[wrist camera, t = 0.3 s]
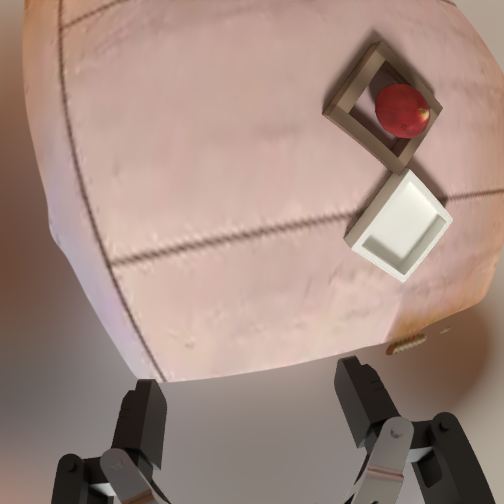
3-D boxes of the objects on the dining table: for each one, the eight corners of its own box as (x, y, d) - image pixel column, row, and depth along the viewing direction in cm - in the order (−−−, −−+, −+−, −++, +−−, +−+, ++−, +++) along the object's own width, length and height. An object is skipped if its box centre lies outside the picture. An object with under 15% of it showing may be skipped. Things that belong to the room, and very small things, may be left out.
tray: (399, 163, 29) (409, 169, 27) (443, 212, 33) (453, 219, 31) (343, 239, 34) (350, 248, 32) (395, 273, 38) (403, 283, 36)
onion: (410, 121, 26) (454, 134, 20) (374, 139, 27) (415, 156, 21) (393, 77, 23) (438, 78, 17) (354, 93, 25) (394, 96, 18)
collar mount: (372, 43, 21) (381, 41, 20) (432, 105, 25) (443, 107, 23) (322, 114, 26) (328, 116, 24) (390, 170, 29) (398, 175, 28)
